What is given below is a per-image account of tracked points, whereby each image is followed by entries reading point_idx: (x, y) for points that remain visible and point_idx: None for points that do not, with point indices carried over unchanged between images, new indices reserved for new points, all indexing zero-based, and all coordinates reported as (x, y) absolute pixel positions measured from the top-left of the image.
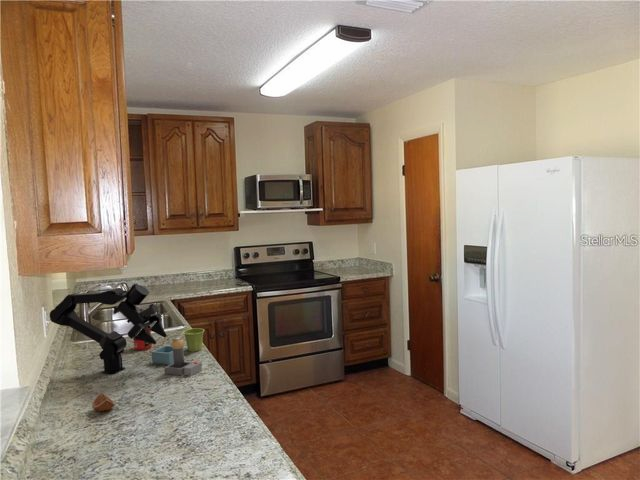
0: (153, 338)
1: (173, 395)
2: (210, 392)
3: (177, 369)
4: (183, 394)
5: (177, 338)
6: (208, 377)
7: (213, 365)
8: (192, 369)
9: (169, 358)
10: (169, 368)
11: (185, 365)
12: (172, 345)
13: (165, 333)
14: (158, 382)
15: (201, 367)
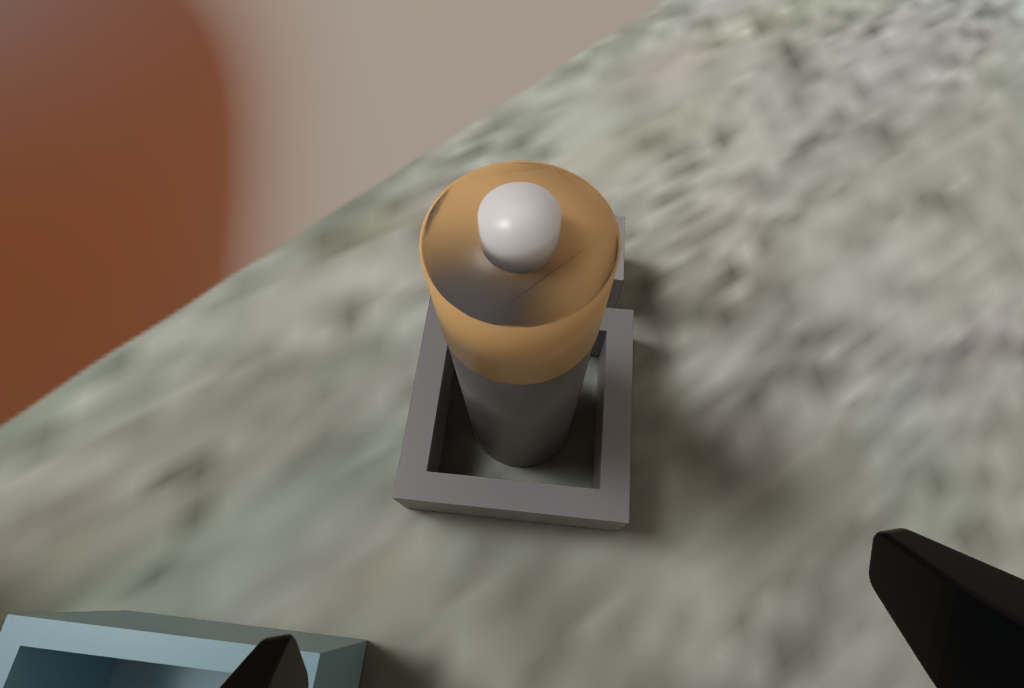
0: (1003, 602)
1: (978, 189)
2: (827, 24)
3: (631, 353)
4: (930, 140)
5: (542, 201)
6: (607, 133)
7: (353, 209)
8: None
9: (338, 646)
10: (628, 451)
11: (445, 386)
12: (583, 342)
13: (238, 685)
14: (830, 450)
15: None
